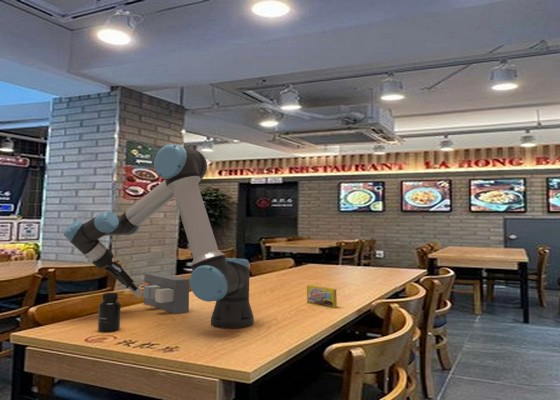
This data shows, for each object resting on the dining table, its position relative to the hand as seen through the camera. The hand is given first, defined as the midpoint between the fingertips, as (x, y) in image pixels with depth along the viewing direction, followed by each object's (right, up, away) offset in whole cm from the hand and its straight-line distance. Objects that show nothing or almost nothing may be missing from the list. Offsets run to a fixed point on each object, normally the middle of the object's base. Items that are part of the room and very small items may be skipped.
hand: (140, 294), depth 183 cm
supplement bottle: (0, -5, -32) cm, 33 cm away
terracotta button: (+1, -2, +15) cm, 16 cm away
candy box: (+74, -8, +13) cm, 76 cm away
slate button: (+5, -2, +4) cm, 7 cm away
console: (+8, -7, +7) cm, 13 cm away
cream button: (+12, -2, -4) cm, 13 cm away
